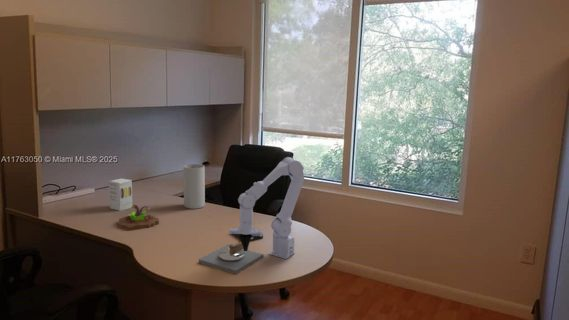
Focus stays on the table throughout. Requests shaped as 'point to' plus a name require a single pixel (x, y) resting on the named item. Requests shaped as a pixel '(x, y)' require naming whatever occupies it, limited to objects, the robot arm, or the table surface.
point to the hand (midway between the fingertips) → (245, 250)
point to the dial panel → (233, 266)
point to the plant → (138, 220)
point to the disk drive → (251, 238)
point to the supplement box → (120, 194)
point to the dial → (232, 253)
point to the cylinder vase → (194, 186)
